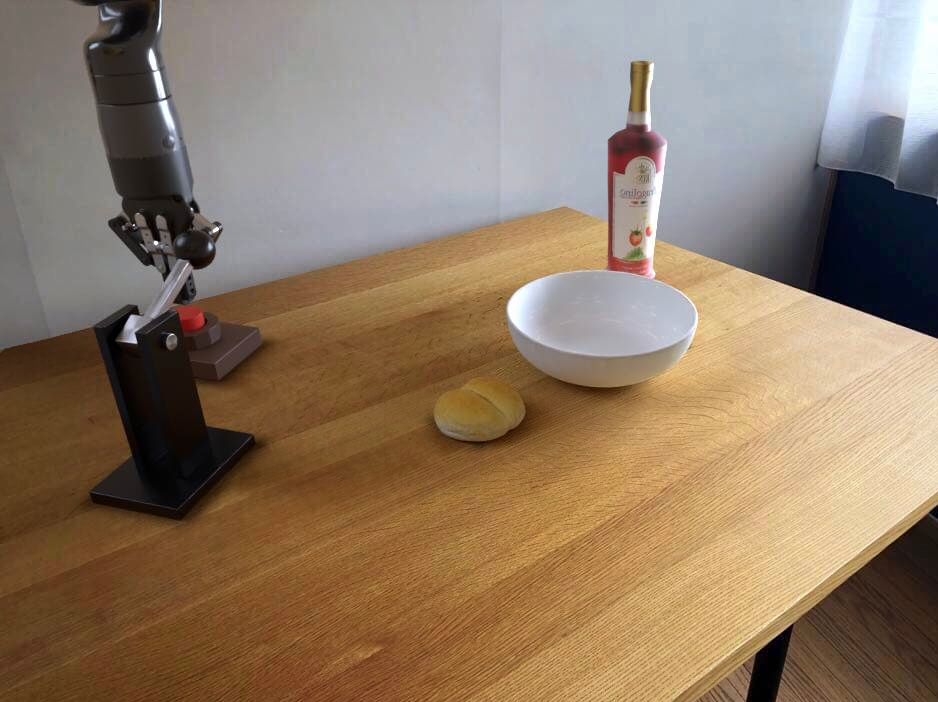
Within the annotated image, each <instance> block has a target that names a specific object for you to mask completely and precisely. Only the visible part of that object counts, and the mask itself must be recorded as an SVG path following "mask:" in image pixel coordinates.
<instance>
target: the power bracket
mask: <svg viewBox="0 0 938 702" xmlns="http://www.w3.org/2000/svg"><path fill="white" fill-rule="evenodd" d="M131 315H138V316H141V312H140V310H139V306H138V305H137V304H130V303H127V304H126V305H124V306H123V307H121V308H119V309H118V310H116V311H115V312H113V313H111V314H109V315H108V316H106V317H104V318H103V319H101V320H100V321H99V322H97V323H95V324H93V325H92V329H93V332H94V335H95V339H96V343H97V345H98V349H99V352H100V355H101V358H102V361H103V364H104V365H103V366H104V368H105V371H106V375H107V378H108V381H109V385H110V388H111V391H112V395H113V398H114V401H115V405H116V408H117V410H118V414H119V417H120V421H121V424H122V428H123V430H124V433H125V436H126V441H127V443H128V447H129V450H130V453H131V456H129V457H128V458H127V459H126V460H125V461H124V462H123V463H121V464H120V465H119V466H117V468H115V469H114V470H113V471H111V472H110V473H109V474H108V475H106V477H104V478H103V479H102V480H101V481H100V482H98V483H97V484H96V485H95V486H94V487H93V488H91V489H90V490H89V491H88V494H89V496H90V499H91V502H92V503H93V504H94V503H95V504H99V505H103V506H109V507H114V508H117V509H118V508H119V509H124V510H128V511H134V512H138V513H144V514H147V515H148V514H149V515H153V516H158V517H162V518H167V519H172V520H178V521H181V520H183V518H184V517H185V516H186V515H188V513H189V512H190V511H191V510H193V508H194V507H195V506H196V505H197V504H198V503H199V502H200V501H201V500H203V498H204V497H205V496H206V495H207V494H208V493H209V492H210V491H211V490H212V489H213V488H214V487H215V486H216V485H217V484H218V483H219V482H221V480H222V479H223V478H224V477H225V476H226V475H227V474H228V473H229V472H230V471H231V470H232V469H233V468H234V467H235V466H236V465H237V464H238V463H239V462H240V461H241V460H242V459H243V458H244V457H245V456H246V455H247V454H248V453H249V452H250V451H251V450H252V448H254V447H255V446H256V445H257V444H256V443H257V441H256V437H255V434H254V433H249V432H243V431H238V430H232V429H226V428H220V427H214V426H209V425H207V423H206V420H205V416H204V410H203V406H202V403H201V399H200V395H199V390H198V387H197V383H196V382H197V381H196V377H194V374H193V370H192V366H191V361H190V357H189V353H188V349H187V345H186V341H185V337H184V333H183V329H182V325H181V321H180V316H179V312H178V311H175V310H174V309H169V310H167V311H165V312H164V313H162V314H161V315H159V316H158V317H157V318H155V319H154V320H152V321H151V322H149V323H148V324H146V325H145V326H143V327H142V328H140V329H139V330H137V331H136V332H134V333H135V337H136V340H137V344H138V347H139V351H140V354H141V358H142V359H139V358H132V357H129V356H128V355H127V354H126V352H125V351H124V350H123V349H122V348H121V347H120V346H119V344H118V343H117V342H116V341H115V340H116V338H117V336H118V335H119V333H120V332H121V330H122V328H123V327H124V325H125V324H126V322H127V320H128V319H129V317H130V316H131Z"/></svg>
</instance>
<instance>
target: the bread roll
mask: <svg viewBox="0 0 938 702" xmlns="http://www.w3.org/2000/svg"><path fill="white" fill-rule="evenodd" d="M526 412H527V411H526V406H525V404H524V401H523V398H522V397H521V395H520V394H519V392H518V390H516V388H514V386H512V385H511V384H510V383H508V382H507V381H505V380H504V379H502V378H499V377H496V376H495V377H494V376H478V377H474V378H472V379H470V380H469V381H467V382H466V383H465V384H464V385H462V386H461V388H459V389H452V390H451V389H450V390H448V391H446V392H444V393H442V395H440V397H438V398H437V400H436V402H435V404H434V406H433V419H434V421H435V424H436V426H437V428H438V429H439V430H440V433H442V434H443V435H445V436H446V437H449V438H451V439H454V440H458V441H466V442H487V441H488V442H489V441H493V440H495V439H498V438H500V437H502V436H504V435H506V434H507V433H508V431H511V430H514V429H516V428H517V427H518V426H519V425H520V424H521V423H522V421H523V420H524V418H525V415H526Z"/></svg>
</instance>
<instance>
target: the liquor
mask: <svg viewBox="0 0 938 702" xmlns="http://www.w3.org/2000/svg"><path fill="white" fill-rule="evenodd" d="M629 70H630V71H629V82H630V94H629V101H628V102H629V103H628V108H627V109H628V110H627V117H626V122H625V123H626V124H625V128H623V129H621V130H617V131H616V132H615V133H613V135H611V136H610V137H609V138H608V139H607V265H606V267H605V268H604V270H603V271H617V272H625V273H631V274H636V275H641V276H645V277H648V278H652V279H655V276H656V272H655V270H654V268H653V265H654V264H653V263H654V252H655V245H656V243H655V242H656V233H657V225H658V216H659V209H660V203H661V196H662V189H663V181H664V171H665V163H666V155H667V147H668V140H667V139H666V138H665V137H664V136H662V135H661V133H660V132H657V131H655V130H653V129H651V98H650V93H651V91H650V90H651V86H652V81H653V78H654V77H653V75H654V62H653V61H649V60H634V61H633V60H632V61H631V62H630V69H629Z"/></svg>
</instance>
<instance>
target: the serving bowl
mask: <svg viewBox="0 0 938 702" xmlns="http://www.w3.org/2000/svg"><path fill="white" fill-rule="evenodd" d="M505 315H506V322H507V327H508V331H509V334H510V337H511V340H512V341H513V344H514V345H515V347H516V349H517V350H518V351H519V353H520V354H521V356H522V357H523V358H524V359H525V360H526V361H527V362H529V363H530V364H531V365H532V366H534V368H536V369H537V370H539V371H540V372H543V373H544V374H546V375H548V376H550V377H552V378H555V379H556V380H560V381H563V382H566V383H569V384H573V385H578V386H583V387H593V388H618V387H625V386H631V385H636V384H640V383H644V382H647V381H650V380H651V379H654V378H657V377H658V376H660V375H662V374H664V373H666V372H667V371H668V370H670V369H671V368H673V366H675V365H677V363H678V362H679V361H680V360H681V359H682V358H683V357H684V355H685V354H686V352H688V349H689V348H690V346H691V344H692V342H693V339H694V336H695V333H696V331H697V326H698V322H699V314H698V311H697V308H696V307H695V305H694V303H693V302H692V301H691V299H690V298H689V297H688V296H686V295H685V294H684V293H682V291H680V290H678V289H677V288H676V287H673V286H672V285H669V284H668V283H665V282H663V281H660V280H657V279H655V278H653V279H652V278H648V277H645V276H641V275H636V274H631V273H625V272H617V271H604V270H603V269H602V270H601V269H600V270H598V269H590V270H589V269H588V270H587V269H585V270H573V271H572V270H571V271H566V272H560V273H554V274H550V275H545V276H542V277H540V278H536V279H535V280H532V281H530V282H527V283H526V284H524V285H522V286H521V287H519V288H518V289H517V290H516V291H514V292H513V294H512V295H511V296H510V298H509V299H508V300H507V303H506V308H505Z"/></svg>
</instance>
